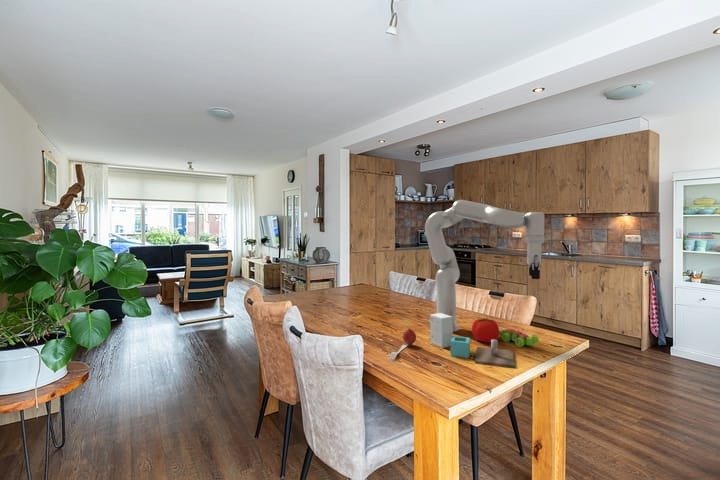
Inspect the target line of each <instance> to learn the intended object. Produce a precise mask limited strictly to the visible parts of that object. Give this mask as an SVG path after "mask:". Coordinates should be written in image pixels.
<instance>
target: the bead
mask: <svg viewBox="0 0 720 480" xmlns="http://www.w3.org/2000/svg"><path fill="white" fill-rule="evenodd" d="M470 353H471V337H466V336H457V335H456V336H455V335H453V336H452V339H451V346H450V356H451V357H456V358H457V357H458V358H466V359H470Z"/></svg>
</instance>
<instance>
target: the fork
mask: <svg viewBox="0 0 720 480" xmlns="http://www.w3.org/2000/svg"><path fill="white" fill-rule="evenodd" d="M408 347H409V345H408V344H402V345H401V346H400V348H399V350H398V351H391V352H390V355H389V358H388V361H389V362H394V361H395V359H396V357H397V356H398V354H400V353H401V352H402V351H403V350H404V349H406V348H408Z"/></svg>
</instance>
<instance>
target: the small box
mask: <svg viewBox="0 0 720 480" xmlns="http://www.w3.org/2000/svg"><path fill="white" fill-rule="evenodd" d="M429 316H430V318H429V319H430V323H429V324H430V327H429V328H430V332H429V333H430V334H429V335H430V344H432V345H435V346H436V347H439V348H441V349H444V348H448V347H451V339H452V336H454V335H453V334H454V332H453V319H452V316H449V315H446V314H443V313H437V312H436V313H432V314H430V315H429Z"/></svg>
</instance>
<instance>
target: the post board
mask: <svg viewBox="0 0 720 480" xmlns="http://www.w3.org/2000/svg"><path fill="white" fill-rule="evenodd" d="M498 346H499V343H498V339H496V340H495V339H492V340H491V342H490V347H483V346H476V349H475V357H474V363H475V364H479V365H488V366H494V367H495V366H497V367H503V368H513V369H515V367H516V366H515V358H514V350H511V349H501V348H499V347H498Z"/></svg>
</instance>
